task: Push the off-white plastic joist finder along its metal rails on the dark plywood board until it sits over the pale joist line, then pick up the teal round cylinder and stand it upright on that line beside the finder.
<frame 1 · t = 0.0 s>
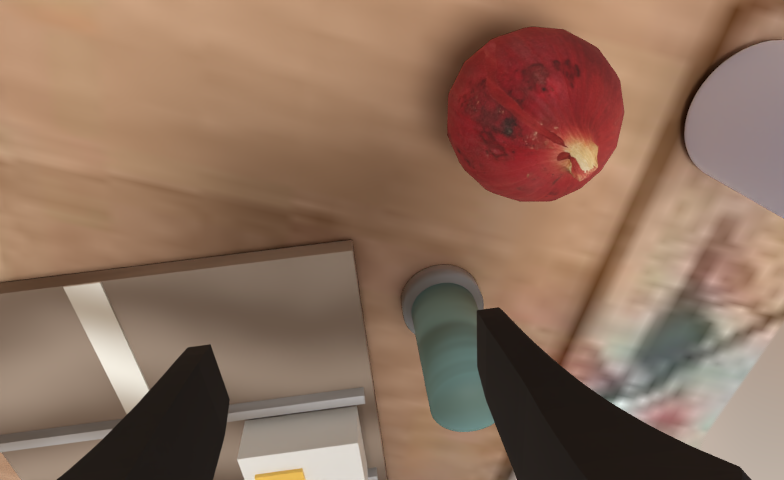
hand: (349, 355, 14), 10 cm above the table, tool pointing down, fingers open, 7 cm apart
spray bottle: (743, 110, 22), on the table
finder: (307, 464, 27), point 3 cm above the table, slide at 0.0 cm
red rounded piece: (500, 92, 21), on the table
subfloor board: (192, 404, 27), on the table
teal round cylinder: (440, 298, 25), on the table
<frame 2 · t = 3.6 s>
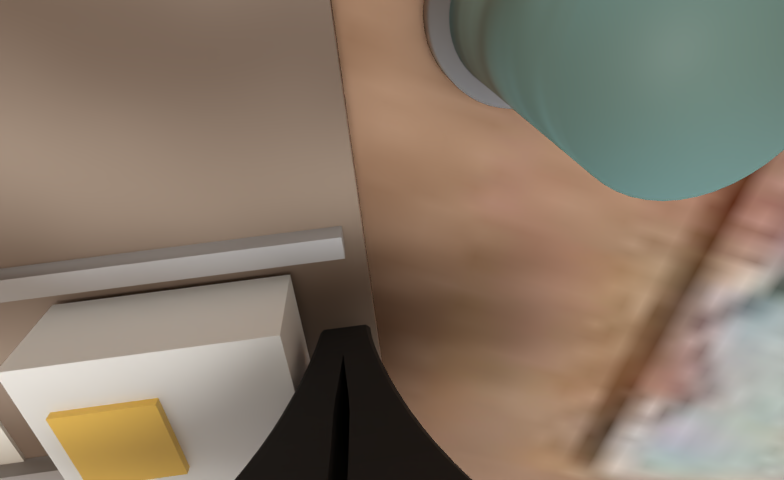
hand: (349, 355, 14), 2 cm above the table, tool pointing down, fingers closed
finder: (187, 398, 13), point 2 cm above the table, slide at 1.0 cm, touching gripper
teal round cylinder: (510, 9, 11), on the table
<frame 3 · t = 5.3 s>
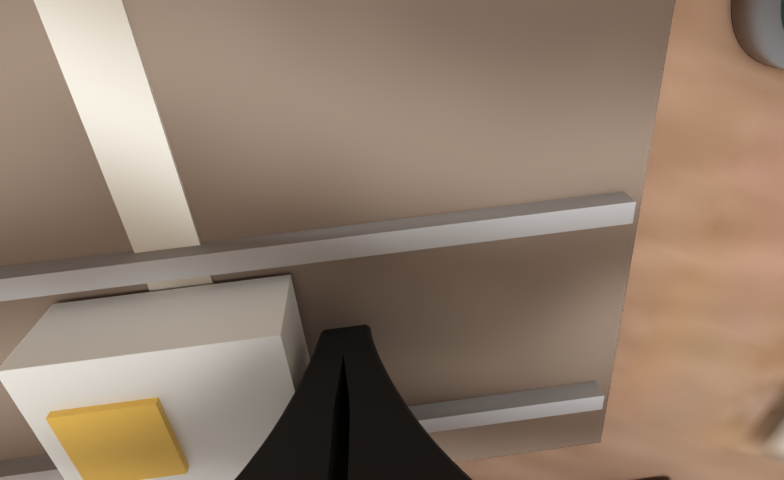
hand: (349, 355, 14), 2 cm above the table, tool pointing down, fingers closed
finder: (187, 398, 13), point 2 cm above the table, slide at 8.2 cm, touching gripper
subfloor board: (260, 238, 14), on the table
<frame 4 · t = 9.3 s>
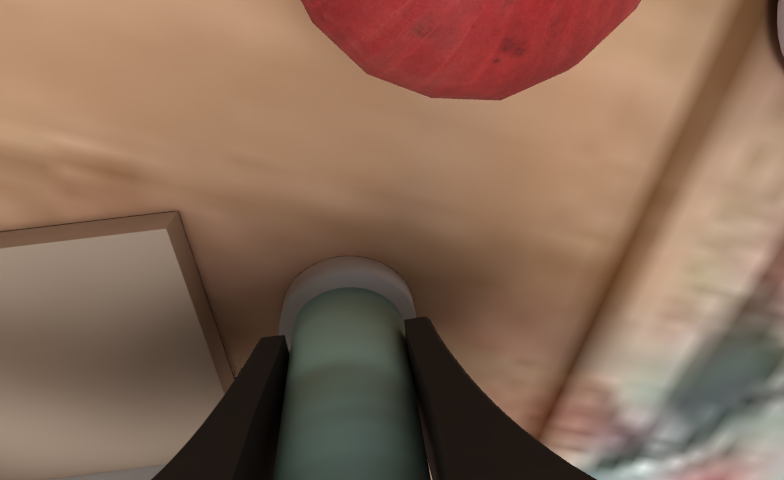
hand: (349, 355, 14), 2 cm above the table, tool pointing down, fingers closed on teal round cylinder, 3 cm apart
teal round cylinder: (348, 312, 15), on the table, touching gripper
when the fingers open (4 cm above the table, at t = 13.8 s): teal round cylinder stays where it is, resting on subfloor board.
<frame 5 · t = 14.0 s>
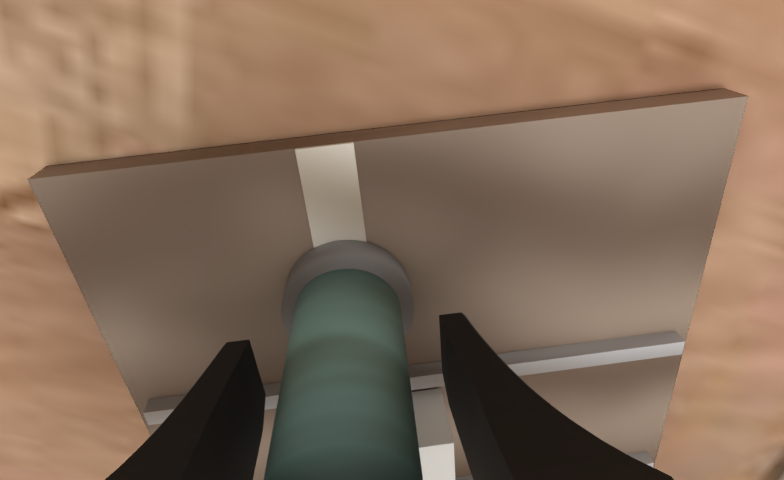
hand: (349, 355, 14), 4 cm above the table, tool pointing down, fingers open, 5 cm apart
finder: (368, 474, 18), point 2 cm above the table, slide at 8.2 cm
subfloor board: (414, 357, 19), on the table
teal round cylinder: (348, 294, 16), point 1 cm above the table, touching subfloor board
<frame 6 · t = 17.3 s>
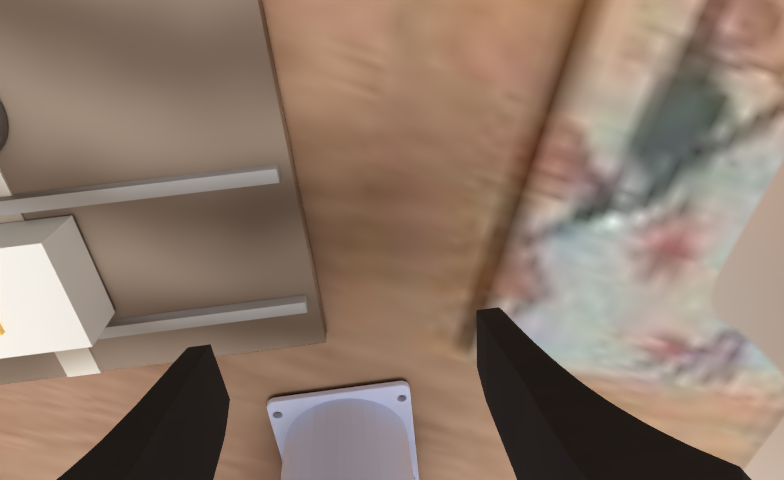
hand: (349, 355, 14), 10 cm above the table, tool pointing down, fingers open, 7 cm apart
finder: (7, 291, 21), point 3 cm above the table, slide at 8.2 cm
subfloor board: (61, 195, 21), on the table
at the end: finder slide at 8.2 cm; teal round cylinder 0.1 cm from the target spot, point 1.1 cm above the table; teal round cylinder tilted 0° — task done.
